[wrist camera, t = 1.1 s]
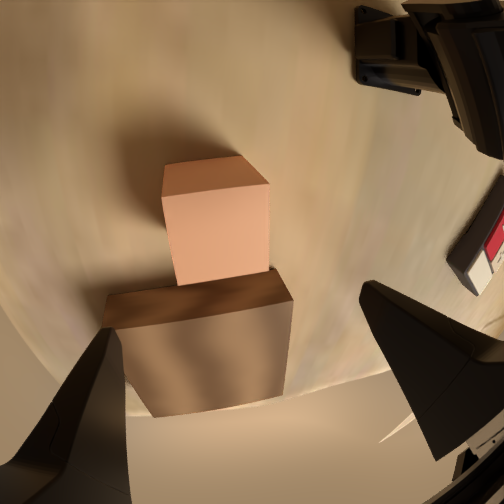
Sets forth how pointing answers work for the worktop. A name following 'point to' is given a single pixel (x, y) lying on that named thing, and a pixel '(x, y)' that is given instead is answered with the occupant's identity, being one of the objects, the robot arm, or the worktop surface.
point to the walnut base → (204, 342)
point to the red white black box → (481, 244)
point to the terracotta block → (216, 218)
